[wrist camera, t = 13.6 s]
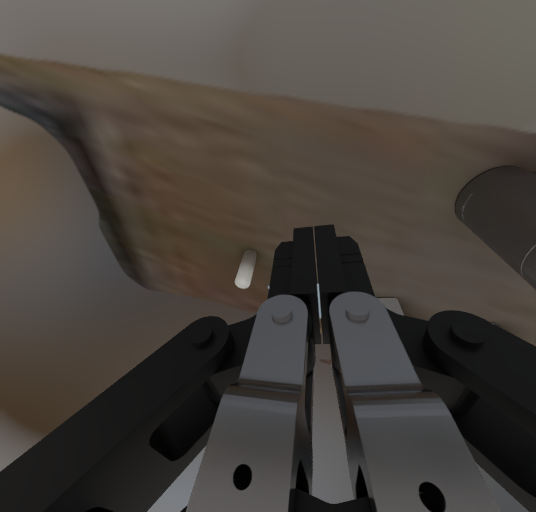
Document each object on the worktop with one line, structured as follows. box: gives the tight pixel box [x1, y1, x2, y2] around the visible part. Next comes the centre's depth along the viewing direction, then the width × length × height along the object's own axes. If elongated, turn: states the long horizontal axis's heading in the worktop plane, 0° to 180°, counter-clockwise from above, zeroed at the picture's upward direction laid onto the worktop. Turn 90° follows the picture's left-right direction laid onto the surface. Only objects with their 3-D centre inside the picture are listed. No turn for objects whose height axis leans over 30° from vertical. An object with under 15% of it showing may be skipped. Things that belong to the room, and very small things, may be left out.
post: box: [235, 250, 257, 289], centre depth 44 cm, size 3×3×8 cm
